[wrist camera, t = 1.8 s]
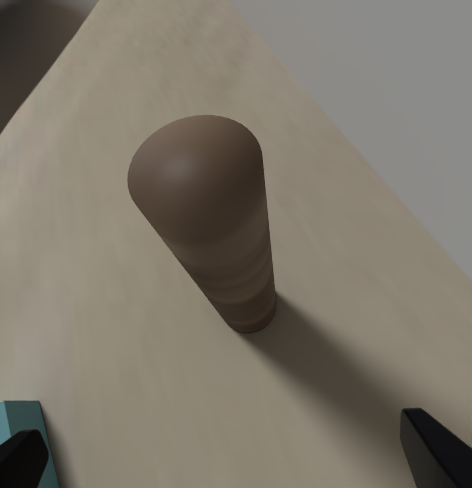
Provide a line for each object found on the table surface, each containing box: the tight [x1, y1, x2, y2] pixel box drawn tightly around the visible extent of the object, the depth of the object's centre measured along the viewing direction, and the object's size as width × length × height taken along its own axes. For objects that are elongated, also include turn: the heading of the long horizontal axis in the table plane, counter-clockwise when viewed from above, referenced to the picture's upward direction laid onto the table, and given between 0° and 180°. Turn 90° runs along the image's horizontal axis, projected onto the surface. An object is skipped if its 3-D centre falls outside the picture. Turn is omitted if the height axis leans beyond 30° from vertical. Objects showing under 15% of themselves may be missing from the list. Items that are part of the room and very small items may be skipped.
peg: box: [128, 115, 276, 333], centre depth 16 cm, size 4×4×15 cm
